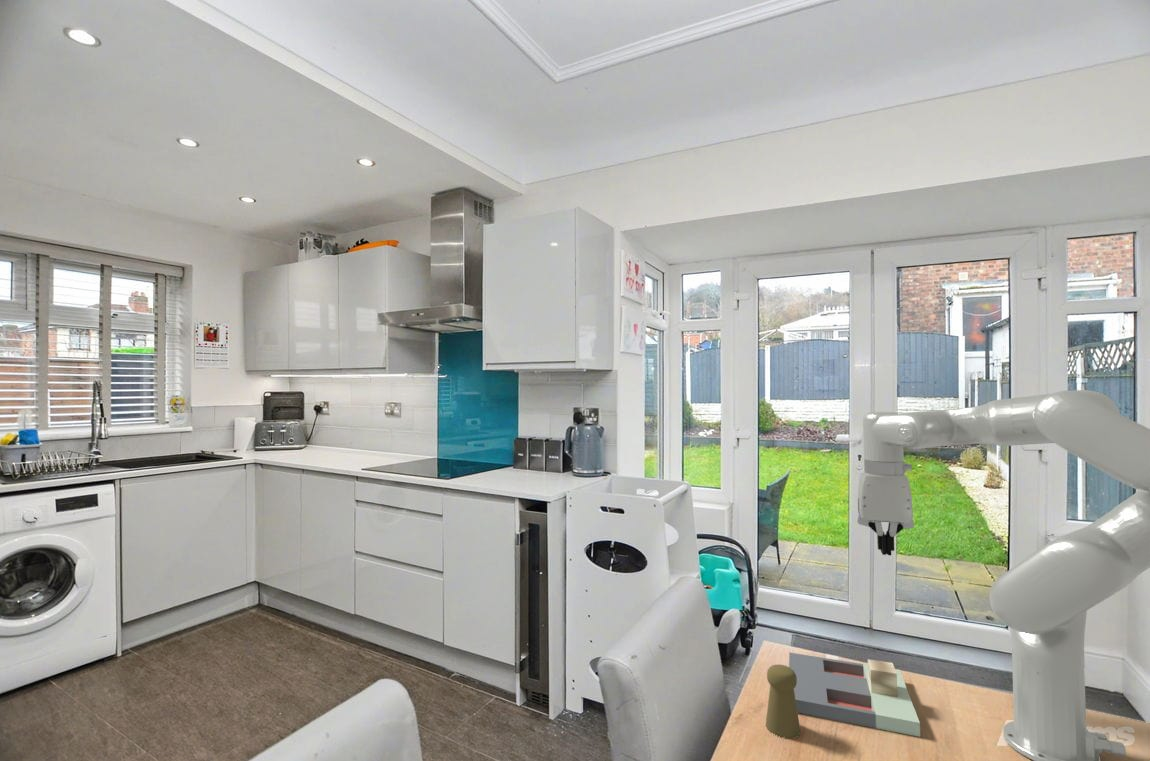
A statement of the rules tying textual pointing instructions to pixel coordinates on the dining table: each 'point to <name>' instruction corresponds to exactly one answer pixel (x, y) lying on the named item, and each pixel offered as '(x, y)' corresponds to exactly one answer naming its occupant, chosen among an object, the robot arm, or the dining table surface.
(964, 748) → the dining table surface
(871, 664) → the beech block
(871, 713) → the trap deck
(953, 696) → the dining table surface
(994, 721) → the dining table surface
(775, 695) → the olive pawn
